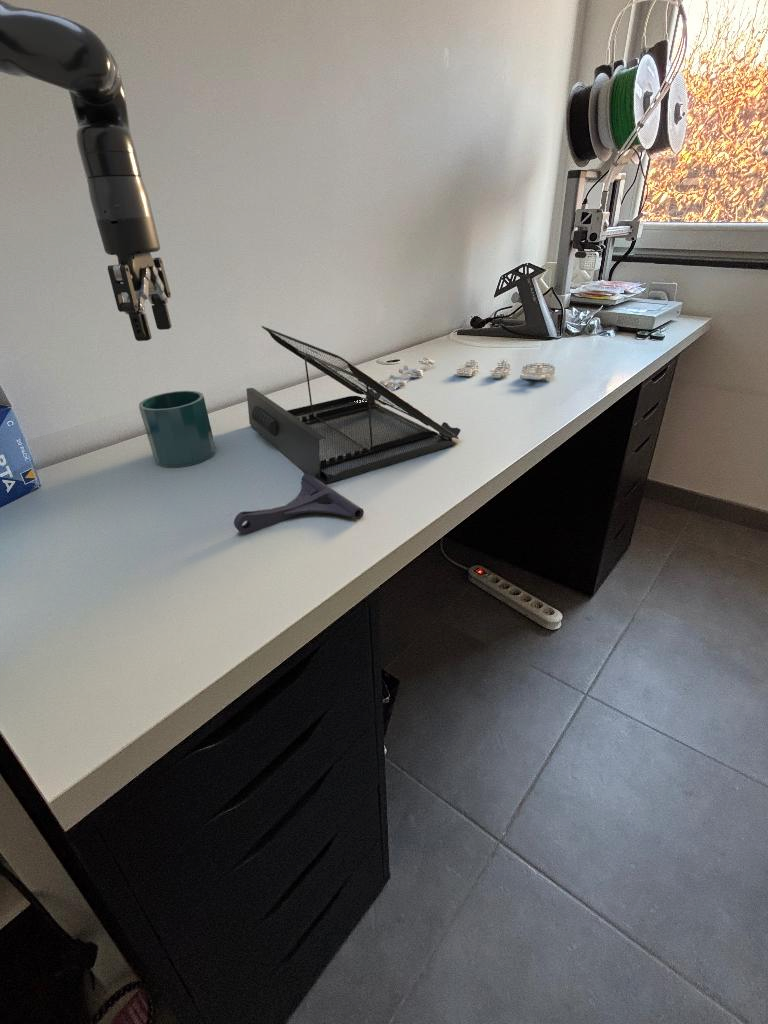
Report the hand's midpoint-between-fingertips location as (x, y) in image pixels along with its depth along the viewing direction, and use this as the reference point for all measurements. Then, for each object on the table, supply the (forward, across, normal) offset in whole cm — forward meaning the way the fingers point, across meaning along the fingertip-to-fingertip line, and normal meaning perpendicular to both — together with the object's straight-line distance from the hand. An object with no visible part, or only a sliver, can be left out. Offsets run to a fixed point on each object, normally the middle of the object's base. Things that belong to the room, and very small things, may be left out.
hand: (154, 334), depth 83 cm
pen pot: (+20, 0, 0) cm, 20 cm away
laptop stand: (+21, -6, +28) cm, 35 cm away
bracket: (+21, +23, +22) cm, 38 cm away
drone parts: (+20, -35, +54) cm, 68 cm away
